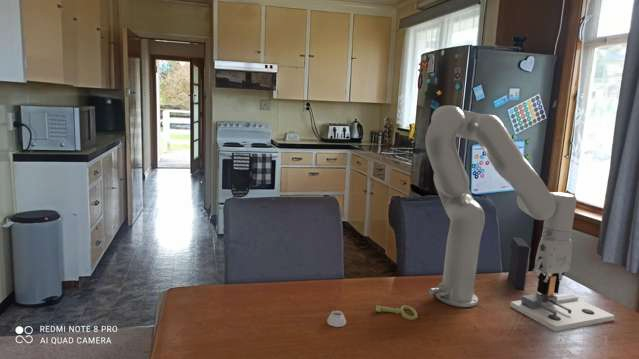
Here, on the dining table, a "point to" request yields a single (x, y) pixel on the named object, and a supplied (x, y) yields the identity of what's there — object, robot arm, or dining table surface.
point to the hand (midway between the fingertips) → (547, 291)
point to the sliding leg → (551, 294)
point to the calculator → (519, 263)
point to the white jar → (336, 319)
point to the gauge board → (561, 312)
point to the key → (398, 311)
